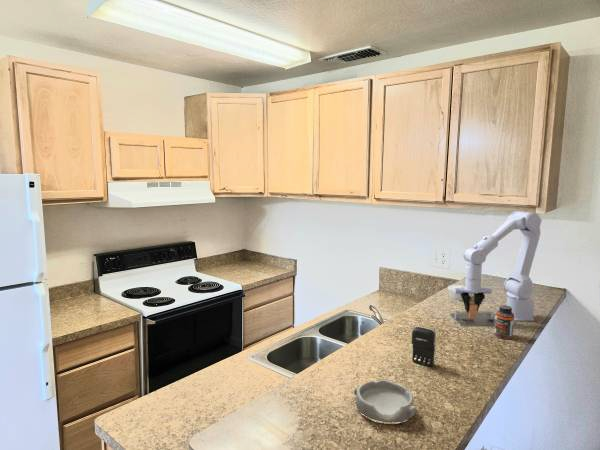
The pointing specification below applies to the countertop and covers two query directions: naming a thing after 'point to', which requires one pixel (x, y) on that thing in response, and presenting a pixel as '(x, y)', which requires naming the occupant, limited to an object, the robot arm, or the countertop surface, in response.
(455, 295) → the ramekin
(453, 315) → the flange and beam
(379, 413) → the dish
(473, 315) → the block
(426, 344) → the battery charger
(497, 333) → the supplement bottle
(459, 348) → the countertop surface
